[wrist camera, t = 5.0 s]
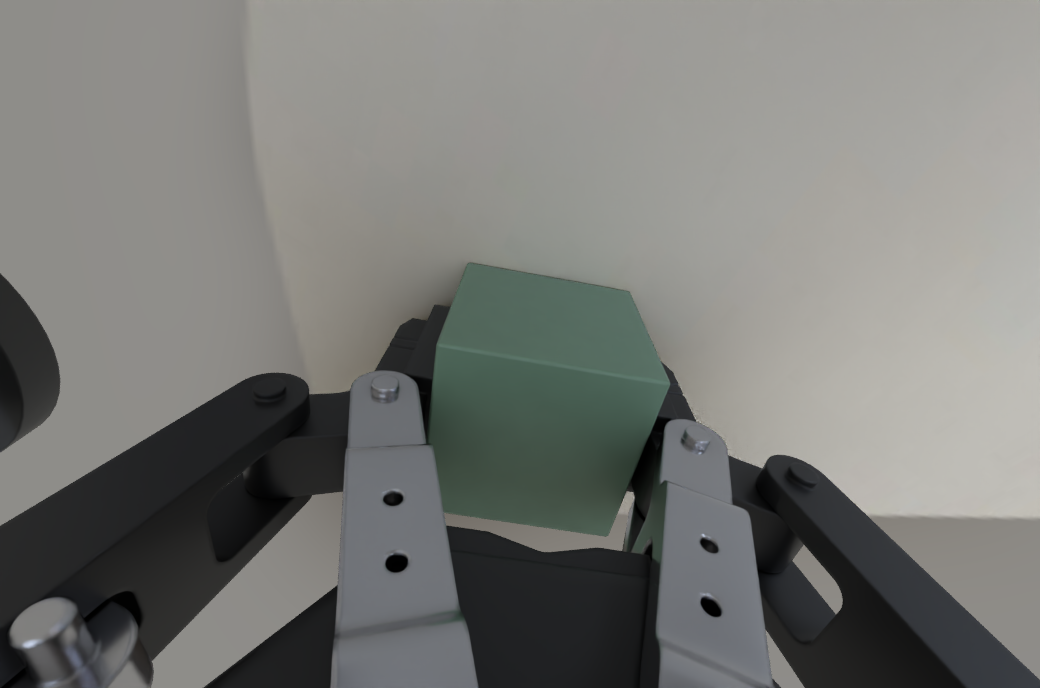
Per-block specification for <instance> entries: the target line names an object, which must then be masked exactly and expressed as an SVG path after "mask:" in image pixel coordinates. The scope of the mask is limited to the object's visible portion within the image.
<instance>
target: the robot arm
mask: <svg viewBox="0 0 1040 688" xmlns="http://www.w3.org/2000/svg"><path fill="white" fill-rule="evenodd" d="M450 308H451V307H446V306H441V305H434V307H433V309H432V311H431V314H430V316H429V318H428V320H427V321H426V320H420V319H414V318H412V319H411V320H409V321H407V322H406V323H404V324H402V325H400V327H399V329H398V330H397V332H396V334H395V336H394V338H393V339H392V341H391V343H390V346H388V348H387V350H386V352H385V354H384V355H383V357H382V359H381V361H380V363H379V364H378V366H377V368H376V370H375V371H374V372H370V373H367V374H364V375H362V376H360V377H358V378H357V379H356V380H355V381H354V382H353V383H352V385H351V389H350V391H347V392H342V393H333V394H311V395H309V388H308V385H307V383H306V382H305V381H304V380H303V379H301V378H299V377H297V376H294V375H291V374H286V373H266V374H261V375H256V376H253V377H250V378H248V379H245V380H243V381H242V382H240V383H238V384H237V385H235V386H233V387H231V388H230V389H228V390H227V391H225V392H223V393H222V394H220V395H218V396H216V397H215V398H213V399H212V400H210V401H208V402H207V403H205V404H203V405H201V406H200V407H198V408H196V409H195V410H193V411H192V412H190V413H188V414H186V415H185V416H183V417H181V418H180V419H178V420H177V421H175V422H173V423H171V424H170V425H168V426H166V427H165V428H163V429H161V430H160V431H158V432H156V433H155V434H153V435H151V436H150V437H148V438H147V439H145V440H143V441H141V442H140V443H138V444H137V445H135V446H133V447H131V448H130V449H128V450H126V451H125V452H123V453H121V454H120V455H118V456H116V457H115V458H113V459H111V460H110V461H108V462H106V463H105V464H103V465H101V466H100V467H98V468H96V469H95V470H93V471H92V472H90V473H88V474H86V475H85V476H83V477H81V478H80V479H78V480H76V481H75V482H73V483H71V484H70V485H68V486H66V487H65V488H63V489H61V490H60V491H58V492H56V493H55V494H53V495H51V496H50V497H48V498H46V499H45V500H43V501H41V502H40V503H38V504H36V505H35V506H33V507H31V508H30V509H28V510H26V511H24V512H23V513H21V514H19V515H18V516H16V517H15V518H13V519H11V520H9V521H8V522H6V523H4V524H3V525H1V526H0V688H151V685H152V681H153V673H154V670H153V663H152V660H153V659H154V658H155V657H156V656H157V655H158V654H159V653H160V652H161V651H162V650H163V649H164V648H165V647H166V646H167V645H168V644H169V643H170V642H171V641H172V640H173V639H174V638H175V637H176V636H177V635H178V634H179V633H180V632H181V631H182V630H183V629H184V627H186V626H187V625H188V624H189V623H190V621H192V619H194V617H195V616H196V615H197V614H198V613H199V612H200V611H201V610H202V609H203V608H204V607H205V606H206V605H207V604H208V603H209V602H210V601H211V600H212V599H213V598H214V597H215V596H216V595H217V594H218V593H219V592H220V591H221V590H222V589H223V588H224V587H225V586H226V585H227V584H228V583H229V582H230V581H231V580H232V579H233V578H234V577H235V576H236V575H237V574H238V572H240V571H241V569H242V568H243V567H244V566H245V565H246V564H247V563H248V562H249V561H250V560H251V559H252V558H253V557H254V556H255V555H256V554H257V553H258V552H259V551H260V550H261V549H262V548H263V547H264V546H265V545H266V544H267V543H268V542H269V541H270V540H271V539H272V538H273V537H274V536H275V535H276V534H277V533H278V532H279V531H280V529H282V528H283V527H284V526H285V524H287V523H288V521H289V520H290V519H291V518H292V517H293V516H294V515H295V514H296V513H297V512H298V511H299V510H300V509H301V508H302V507H303V506H304V505H305V504H306V503H307V502H308V501H309V500H310V498H311V496H312V495H315V494H325V493H333V492H342V491H343V504H342V521H341V538H340V539H341V540H340V556H339V573H338V585H337V586H336V587H335V588H333V589H332V590H331V591H329V592H328V593H327V594H325V595H324V596H323V597H322V598H320V599H319V600H318V601H316V602H315V603H314V604H312V605H311V606H310V607H308V608H307V609H306V610H304V611H303V612H302V613H301V614H299V615H298V616H297V617H295V618H294V619H293V620H291V621H290V622H289V623H287V624H286V625H285V626H284V627H282V628H281V629H280V630H279V631H277V632H276V633H274V634H273V635H272V636H271V637H269V638H268V639H266V640H265V641H264V642H263V643H261V644H260V645H259V646H257V647H256V648H255V649H254V650H252V651H251V652H250V653H248V654H247V655H246V656H244V657H243V658H242V659H241V660H239V661H238V662H237V663H235V664H234V665H232V666H231V667H230V668H229V669H227V670H226V671H225V672H223V673H222V674H221V675H219V676H218V677H217V678H215V679H214V680H213V681H212V682H210V683H209V684H208V685H206V686H205V687H204V688H781V687H780V686H779V685H778V684H777V683H776V682H775V681H774V680H773V679H772V675H771V668H770V660H769V654H768V645H767V638H766V631H765V629H766V630H767V632H768V633H769V635H770V636H771V638H772V639H773V641H774V642H775V644H776V645H777V647H778V648H779V650H780V651H781V653H782V654H783V656H784V657H785V659H786V660H787V662H788V663H789V665H790V666H791V667H792V669H793V671H794V672H795V674H796V675H797V677H798V678H799V680H800V681H801V683H802V684H803V686H804V687H805V688H1040V680H1039V679H1038V678H1037V677H1036V676H1035V675H1034V674H1033V673H1032V672H1031V671H1030V670H1029V669H1027V667H1026V666H1024V665H1023V664H1022V663H1021V662H1020V661H1019V660H1018V659H1017V658H1016V657H1015V656H1014V655H1013V654H1012V653H1011V652H1010V651H1009V650H1008V649H1007V648H1005V647H1004V645H1002V644H1001V643H1000V642H999V641H998V640H997V639H996V638H995V637H994V636H993V635H992V634H991V633H990V632H989V631H988V630H987V629H986V628H984V626H982V625H981V624H980V623H979V622H978V621H977V620H976V619H975V618H974V617H973V616H972V615H971V614H970V613H969V612H968V611H967V610H965V608H963V607H962V606H961V605H960V604H959V603H958V602H957V601H956V600H955V599H954V598H953V597H952V596H951V595H950V594H949V593H948V592H947V591H946V590H945V589H944V588H943V587H941V586H940V585H939V584H938V583H937V582H936V581H935V580H934V579H933V578H932V577H931V576H930V575H929V574H928V573H927V572H926V571H925V570H924V569H923V568H921V567H920V566H919V565H918V564H917V563H916V562H915V561H914V560H913V559H912V558H911V557H910V556H909V555H908V554H907V553H906V552H905V551H904V550H903V549H902V548H900V547H899V546H898V545H897V544H896V543H895V542H894V541H893V540H892V539H891V538H890V537H889V536H888V535H887V534H886V533H885V532H884V531H883V530H881V529H880V528H879V527H878V526H877V525H876V524H875V523H874V522H873V521H872V520H871V519H870V518H869V517H868V516H867V515H866V514H865V513H864V512H863V511H862V510H861V509H859V508H858V507H857V506H856V505H855V504H854V503H853V502H852V501H851V500H850V499H849V498H848V497H847V496H846V495H845V494H844V493H843V492H842V491H841V490H839V489H838V488H837V487H836V486H835V485H834V484H833V483H832V482H831V481H830V480H829V479H828V478H827V477H826V476H825V475H824V474H822V473H821V472H820V471H819V470H817V469H816V468H814V467H813V466H811V465H810V464H808V463H806V462H804V461H802V460H799V459H797V458H794V457H790V456H786V455H774V456H771V457H770V458H769V459H768V460H767V462H766V463H765V465H764V467H763V468H759V467H757V466H754V465H751V464H749V463H746V462H743V461H741V460H738V459H736V458H733V457H731V456H729V455H728V449H727V446H726V444H725V442H724V441H723V439H722V438H721V437H720V436H719V435H718V434H717V433H716V432H714V431H713V430H711V429H710V428H708V427H706V426H705V425H702V424H700V423H698V422H696V420H695V418H694V416H693V414H692V412H691V410H690V407H689V405H688V403H687V401H686V399H685V397H684V396H683V393H682V391H681V388H680V386H678V382H677V380H676V378H675V376H674V374H673V372H672V371H671V370H670V369H669V368H668V367H667V366H665V365H664V364H663V363H662V362H661V363H662V365H663V368H664V370H665V372H666V374H667V377H668V379H669V381H670V386H669V389H668V391H667V394H666V396H665V398H664V401H663V403H662V406H661V408H660V411H659V413H658V416H657V418H656V420H655V423H654V425H653V428H652V430H651V433H650V435H649V437H648V440H647V442H646V445H645V447H644V450H643V452H642V455H641V457H640V459H639V462H638V464H637V467H636V469H635V472H634V474H633V476H632V479H631V481H630V484H629V486H628V489H627V491H629V492H634V496H635V498H634V501H633V503H632V505H631V508H630V510H629V515H628V521H627V527H626V533H625V539H624V544H623V550H622V551H617V550H610V549H604V548H589V549H579V550H569V551H558V552H541V551H537V550H535V549H532V548H529V547H527V546H524V545H522V544H519V543H516V542H514V541H511V540H509V539H506V538H503V537H501V536H498V535H496V534H493V533H490V532H487V531H480V530H473V529H465V528H459V527H452V526H446V522H445V517H444V510H443V504H442V497H441V491H440V485H439V479H438V473H437V467H436V460H435V454H434V449H433V445H432V444H431V443H428V444H426V439H427V430H428V420H429V410H430V401H431V391H432V381H433V372H434V362H435V352H436V344H437V342H438V339H439V336H440V334H441V331H442V329H443V326H444V323H445V321H446V318H447V316H448V313H449V310H450ZM242 472H243V473H242ZM237 476H238V477H237ZM232 480H233V481H232ZM227 484H228V485H227ZM222 488H223V489H222ZM803 545H805V546H806V547H807V548H808V550H809V551H810V552H811V553H812V554H813V555H814V557H815V558H816V559H817V560H818V561H819V562H820V563H821V565H822V566H823V567H824V568H825V569H826V571H827V572H828V573H829V574H830V575H831V576H832V578H833V579H834V580H835V581H836V583H837V584H838V586H839V588H840V590H841V593H842V598H843V605H842V608H841V610H840V611H839V612H838V613H837V614H835V613H834V612H833V610H832V609H831V608H830V607H829V606H828V604H827V603H826V602H825V600H824V599H823V598H822V597H821V596H820V594H819V593H818V592H817V591H816V589H815V588H814V587H813V586H812V585H811V583H810V582H809V581H808V580H807V578H806V577H805V576H804V575H803V573H802V572H801V571H800V570H799V568H798V567H797V566H796V565H795V564H794V562H793V561H792V560H793V558H794V557H795V556H796V554H797V553H798V551H799V550H800V549H801V547H802V546H803Z"/></svg>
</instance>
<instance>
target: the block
mask: <svg viewBox="0 0 1040 688" xmlns="http://www.w3.org/2000/svg"><path fill="white" fill-rule="evenodd" d="M669 386H670V381H669V379H668V377H667V374H666V372H665V370H664V368H663V365H662V363H661V361H660V359H659V356H658V354H657V352H656V350H655V348H654V345H653V343H652V341H651V339H650V336H649V334H648V332H647V330H646V327H645V325H644V323H643V321H642V319H641V316H640V314H639V312H638V310H637V307H636V305H635V303H634V301H633V298H632V296H631V294H630V292H628V291H623V290H617V289H612V288H606V287H601V286H595V285H590V284H584V283H579V282H573V281H568V280H562V279H557V278H551V277H546V276H540V275H534V274H529V273H523V272H518V271H512V270H507V269H501V268H496V267H490V266H485V265H479V264H474V263H468V264H467V266H466V268H465V271H464V274H463V276H462V279H461V281H460V284H459V287H458V289H457V292H456V295H455V297H454V300H453V302H452V305H451V308H450V310H449V313H448V316H447V318H446V321H445V323H444V326H443V329H442V331H441V334H440V336H439V339H438V342H437V344H436V352H435V362H434V372H433V381H432V391H431V401H430V410H429V420H428V430H427V439H426V444H428V443H431V444H432V445H433V449H434V454H435V460H436V467H437V473H438V479H439V485H440V491H441V497H442V504H443V510H444V513H449V514H456V515H462V516H470V517H476V518H484V519H490V520H496V521H503V522H510V523H517V524H524V525H530V526H537V527H544V528H551V529H558V530H565V531H571V532H578V533H585V534H592V535H599V536H605V537H606V536H608V535H609V533H610V530H611V528H612V525H613V523H614V520H615V518H616V515H617V513H618V511H619V508H620V506H621V503H622V501H623V498H624V496H625V494H626V491H627V489H628V486H629V484H630V481H631V479H632V476H633V474H634V472H635V469H636V467H637V464H638V462H639V459H640V457H641V455H642V452H643V450H644V447H645V445H646V442H647V440H648V437H649V435H650V433H651V430H652V428H653V425H654V423H655V420H656V418H657V416H658V413H659V411H660V408H661V406H662V403H663V401H664V398H665V396H666V394H667V391H668V389H669Z"/></svg>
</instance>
